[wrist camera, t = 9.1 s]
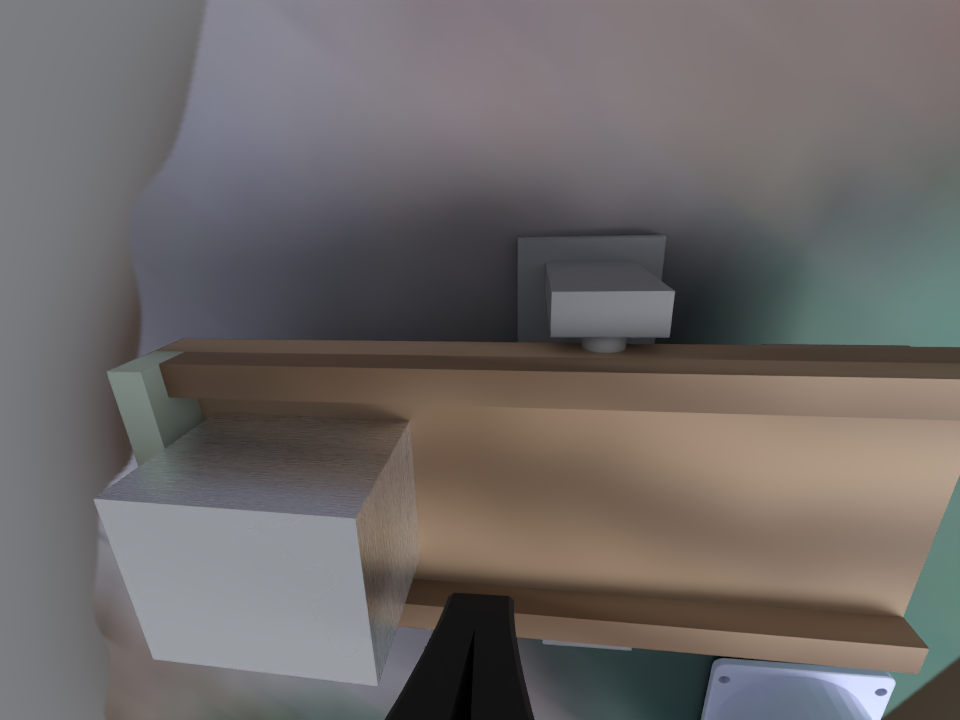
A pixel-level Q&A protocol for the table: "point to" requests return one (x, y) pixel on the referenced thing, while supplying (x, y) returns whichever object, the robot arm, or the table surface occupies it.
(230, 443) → the block
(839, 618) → the tan wooden tray
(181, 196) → the table surface
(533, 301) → the stand
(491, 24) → the table surface
